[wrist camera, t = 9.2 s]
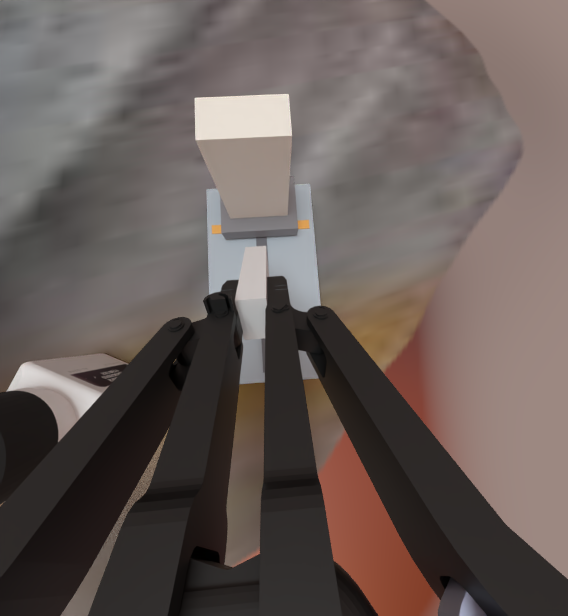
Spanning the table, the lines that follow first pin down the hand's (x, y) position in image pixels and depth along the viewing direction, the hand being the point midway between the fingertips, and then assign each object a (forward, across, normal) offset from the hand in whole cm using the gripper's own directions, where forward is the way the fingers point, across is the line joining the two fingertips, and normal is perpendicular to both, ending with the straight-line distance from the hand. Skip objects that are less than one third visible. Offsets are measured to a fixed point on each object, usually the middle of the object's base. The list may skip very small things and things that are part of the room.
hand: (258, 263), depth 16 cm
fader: (+11, 0, +1) cm, 11 cm away
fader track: (+7, 0, -6) cm, 9 cm away
